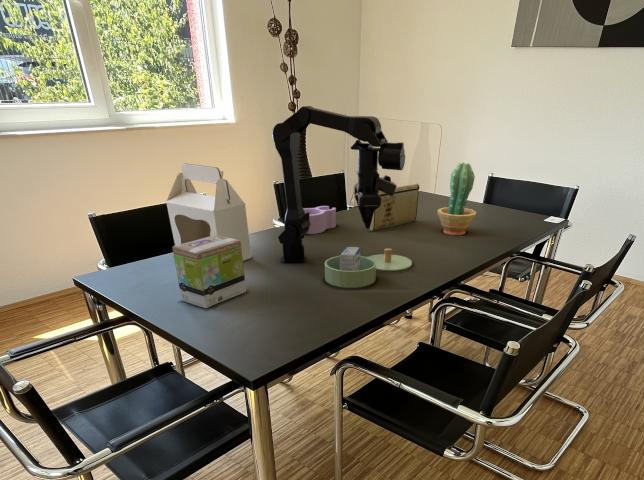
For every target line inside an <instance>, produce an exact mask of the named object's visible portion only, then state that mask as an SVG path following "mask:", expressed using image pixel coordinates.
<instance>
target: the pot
mask: <svg viewBox="0 0 644 480" xmlns="http://www.w3.org/2000/svg"><path fill="white" fill-rule="evenodd" d="M368 257H369V256H363V255H360V270H359V271H343V270H340V255H336V256H332V257H330V258H327V259H326V260H325V261H324V280H325V282H326V283H328V284H329V285H331V286H335V287H339V288H346V289H347V288H349V289H350V288H351V289H352V288H355V289H356V288H363V287H367V286H370V285H372V284H374V283H375V281H376V280H377V270H376V262H375V261H374V260H373V259H370V258H368Z"/></svg>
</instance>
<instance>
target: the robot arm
mask: <svg viewBox="0 0 644 480" xmlns="http://www.w3.org/2000/svg"><path fill="white" fill-rule="evenodd" d="M310 124H311V125H315V126H318V127H319V126H320V127H324V128H327V129H331V130H336V131H340V132H344V133H346V134H348V135H349V136H351V137H353V138H354V139H356V140H355V142H354V143H353V144H352V145H351V146H350V150H354V151H357V170H356V176H357V178H356V179H357V180H356V181H357V183H355V185H354V186H353V195H354V199H355V202H356V205H357V207H358V211H359V213H360V217H361V221H362V222H363V221H364V222H363V224H364V227H365V229H369V230H370V225H371V221H372V217H373V214H374V211H375V210H376V209H377V208H379V207H380V205H381V197H380V196H379V194H378V193H379V191H381V192H384V193H386V194H388V195H389V196H393V194H394V192H395V189H396V187H398V186H397V184H396V183H395V182H393V181H392V178H391V176H389V175H387V174H385V175H384V176H383V177H380V173H379V172H378V167H381V169H382V170H391V171H403V170H404V168H405V164H406V153H405V143H404V142H400V141H399V142H389V141H388V139H387V138H386V136H385V134H384V132H383V131H382V124H381V122H380V120H379V118H377V117H376V116H371V115H357V116H356V115H355V116H352V115H346V114H341V113H337V112H333V111H329V110H325V109H321V108H316V107H313V106H311V105H305V106H304V105H303V106H301V107H300V108H299V109H298V110H297V111H296V112H294V113H293V114H292V115H290V116H288V118H286V119H285V120H284V121H283V122H278V123H276V124H275V125H274V127H273V128H272V131H271V134H272V135H271V136H272V140H273V143H274V147H275V149H276V151H277V154H278V156H279V157H280V160H281V161H280V162H281V169H282V177H283V186H284V193H285V203H286V213H285V215H284V230H283V231H281V233H280V234H279V235H278V237H277V239H278V242H279V244H281V245H282V256H283V259H282V262H283V263H303V262H304V260H305V258H306V257H305V254H306V253H305V244H304V243H303V239H305V236H306V235H307V234H306V233H307V232H308V230H309V226H310V225H311V223H310V220H309V212H306V213H305V211H304V209H303V208H304V207H303V202H302V194H301V184H300V183H301V182H300V174H299V173H300V172H299V166H298V153H299V148H300V143H301V142H300V138H301V134H302V133H303V132H305V130H306V129H307V128H308V127H309V126H310Z"/></svg>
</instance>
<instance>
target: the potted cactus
mask: <svg viewBox="0 0 644 480" xmlns="http://www.w3.org/2000/svg"><path fill="white" fill-rule="evenodd" d="M475 178H476V176H475V173H474V171H473V168H472V166H471V164H470V162H467V163H465V162H462V163H461V162H459V163H457V164H456V166H455V167H454V168H453V170H452V171H451V173H450V179H449V189H450V190H449V191H450V197H449V202H448V206H447V207H441V208H438V209H437V211H436V212H437V216H438V218H439V222H440V224H441V226H442V228H443V231H442V233H444V234H446V235H450V236H462V235H466V230H467V229H468V228H469V226H470V225H471V223H472V221H473V219H475V217H476V215H477V211H475V210H474V209H471V208H466V205H467V203H468V198H469V196H470V194H471V192H472V191H473V187H474V183H475Z"/></svg>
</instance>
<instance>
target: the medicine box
mask: <svg viewBox="0 0 644 480" xmlns="http://www.w3.org/2000/svg"><path fill="white" fill-rule="evenodd" d="M339 256H340V270H343V271H359V270H360V256H361V248H360V247H359V246H358V247H357V246H346V247H345V249H344V250H343V251H342V252H341V254H340V255H339Z"/></svg>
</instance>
